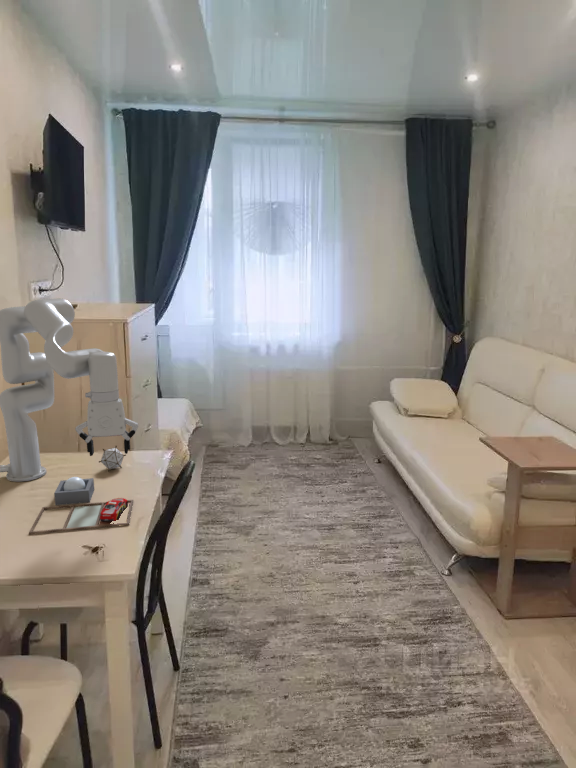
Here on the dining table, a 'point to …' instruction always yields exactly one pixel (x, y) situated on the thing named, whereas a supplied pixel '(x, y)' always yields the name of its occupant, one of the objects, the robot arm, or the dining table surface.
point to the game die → (112, 458)
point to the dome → (74, 484)
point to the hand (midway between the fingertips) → (109, 453)
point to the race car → (113, 509)
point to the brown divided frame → (81, 517)
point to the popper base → (74, 493)
